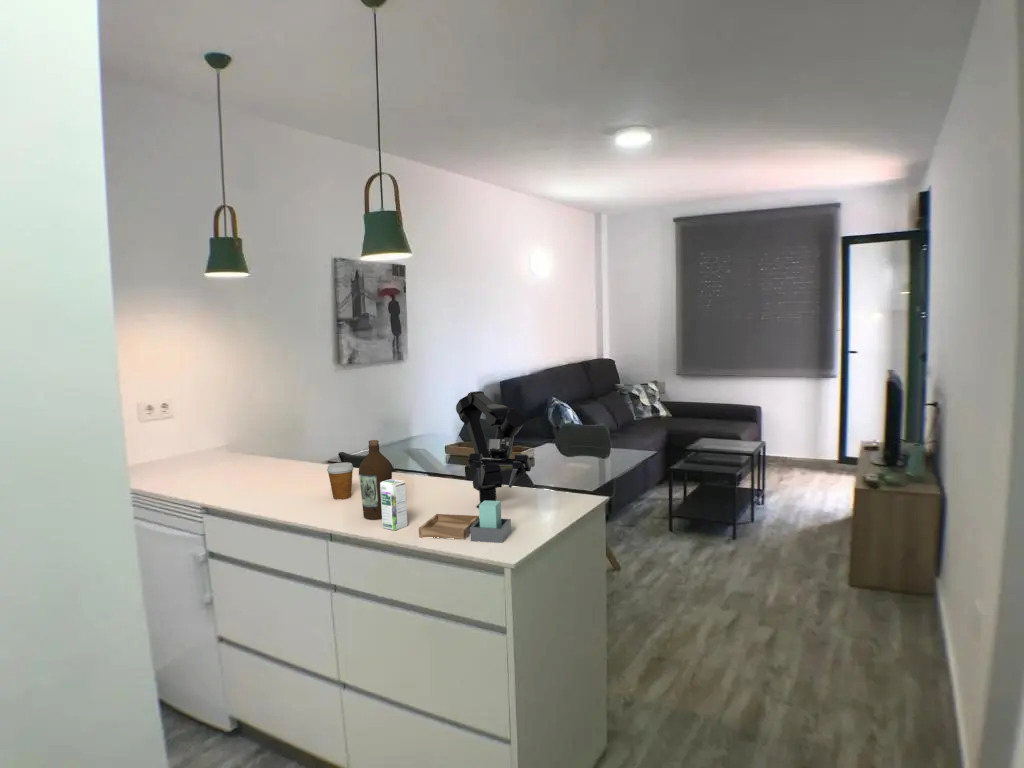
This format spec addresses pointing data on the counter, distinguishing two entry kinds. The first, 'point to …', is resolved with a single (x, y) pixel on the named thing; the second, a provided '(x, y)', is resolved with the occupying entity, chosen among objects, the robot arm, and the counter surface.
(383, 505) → the syrup box
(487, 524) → the block
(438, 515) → the tray
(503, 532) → the holder
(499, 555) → the counter surface
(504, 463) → the robot arm
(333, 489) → the disposable coffee cup
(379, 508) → the olive oil
